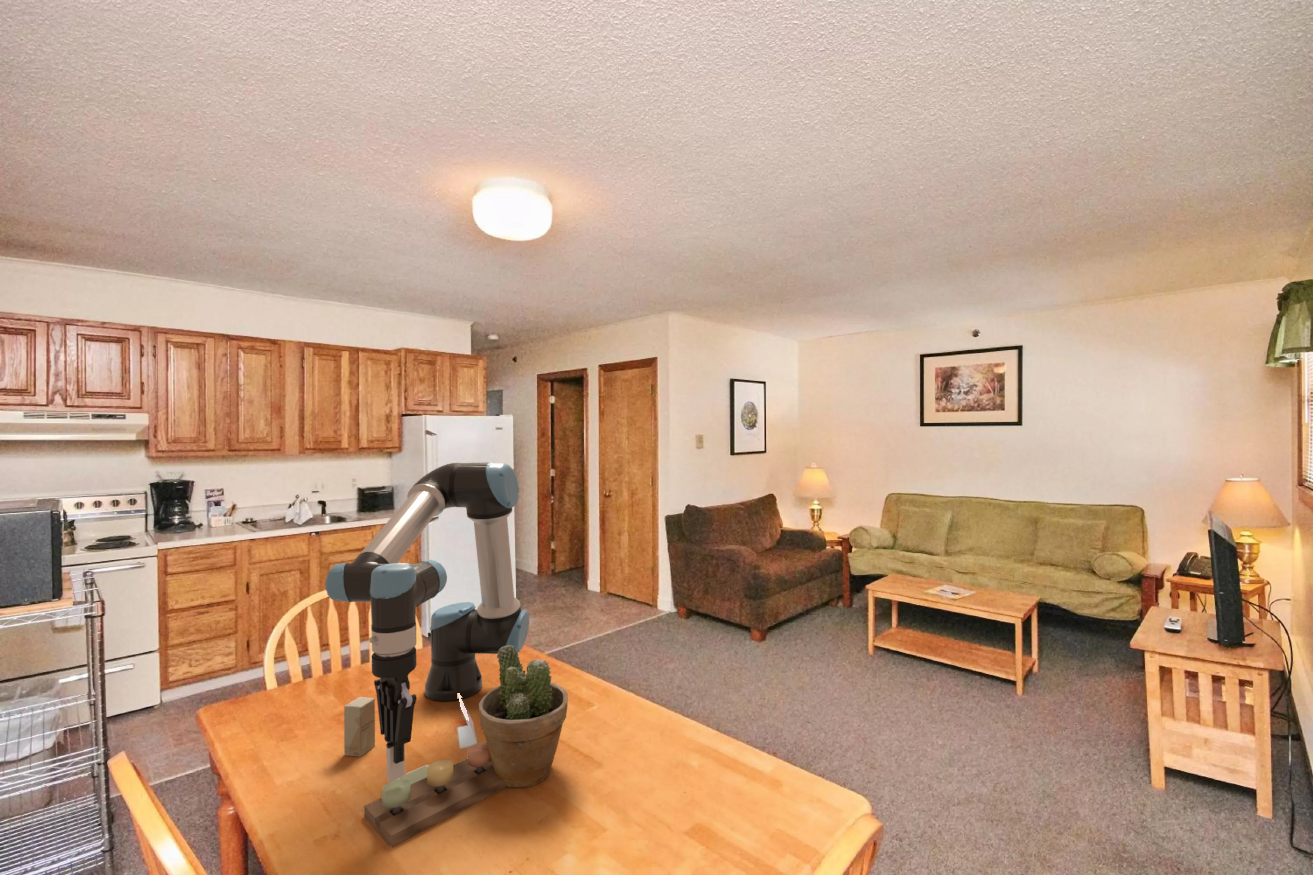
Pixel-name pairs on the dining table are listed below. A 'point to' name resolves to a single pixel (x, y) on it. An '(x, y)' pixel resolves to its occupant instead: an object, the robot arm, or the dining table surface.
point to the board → (433, 802)
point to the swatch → (416, 774)
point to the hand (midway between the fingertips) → (395, 776)
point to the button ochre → (440, 774)
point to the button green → (396, 794)
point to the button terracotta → (478, 756)
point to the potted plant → (523, 720)
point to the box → (359, 726)
